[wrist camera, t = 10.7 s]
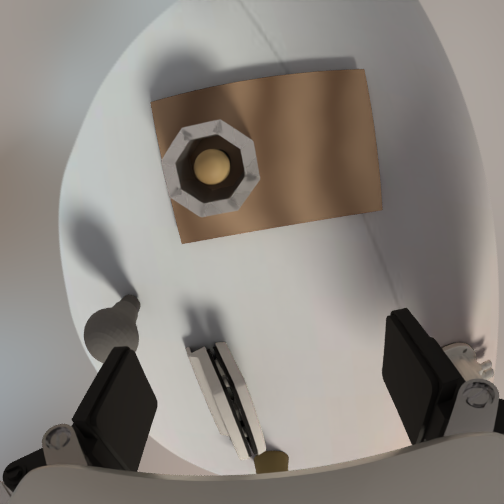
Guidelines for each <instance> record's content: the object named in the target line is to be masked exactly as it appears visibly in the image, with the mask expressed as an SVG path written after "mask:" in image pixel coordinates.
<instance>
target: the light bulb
mask: <svg viewBox="0 0 504 504" xmlns="http://www.w3.org/2000/svg"><path fill="white" fill-rule="evenodd" d="M139 309H140V302H139V300H138V299H137V298H136V297H135V296H133V295H126V296H124V297H123V298H122V299H121V301H119V302H117V303H116V304H115V305H114V306H113V307H112V308H106V309H101V310H99V311H97V312H96V313H94V314H93V315H91V317H90V318H89V319H88V321H87V323H86V325H85V329H84V341H85V344H86V347H87V349H88V351H89V352H90V354H91V355H92V356H93V357H94V358H95V359H97V360H98V361H100V362H102V363H104V362H105V360H106V359H107V357H108V355H109V354H110V352H111V350H112V349H113V348H114V347H120V346H128V347H129V348H130V349H131V350H134V351H135V352H136V350H137V347H138V342H139V334H138V330H137V326H136V320H137V317H138V312H139Z"/></svg>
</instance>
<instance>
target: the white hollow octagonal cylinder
mask: <svg viewBox="0 0 504 504" xmlns="http://www.w3.org/2000/svg"><path fill="white" fill-rule="evenodd" d="M218 135H220V136H221V137H223V138H224V139H226V140H227V141H229V142H230V143H232V144H233V145H235V146H236V147H238V148H239V149H241V155H242V160H243V165H244V171H243V173H242V174H241V176H240V177H239V179H238V180H237V181H236V183H235V184H234V186H229V187H224V188H219V189H214V190H212V189H210V188H209V187H207V186H206V185H204V184H203V183H201V182H200V181H198V180H196V179H195V178H194V175H193V170H192V165H191V161H190V156H191V154H192V153H193V151H194V150H195V148H196V147H197V145H198V144H199V142H200V141H201V139H204V138H208V137H213V136H218ZM161 162H162V167H163V171H164V176H165V180H166V185H167V189H168V193H169V197H170V198H172V199H173V200H175V201H176V202H178V203H179V204H181V205H182V206H184V207H185V208H187V209H189V210H190V211H192V212H193V213H195V214H196V215H198V216H199V217H206V216H211V215H217V214H222V213H227V212H233V211H238V210H239V209H240V207H241V206H242V204H243V203H244V201H245V200H246V199H247V197H248V196H249V194H250V193H251V192H252V190H253V189H254V187H255V186H256V185H257V183H258V182H259V180H260V175H259V169H258V164H257V158H256V152H255V147H254V142H253V140H251V139H250V138H248V137H247V136H245V135H244V134H242V133H241V132H239V131H238V130H236V129H235V128H233V127H232V126H230V125H229V124H227V123H226V122H224V121H222V120H221V119H220V120H215V121H210V122H205V123H201V124H196V125H192V126H188V127H183V128H181V130H180V131H179V133H178V134H177V136H176V138H175V139H174V141H173V142H172V144H171V145H170V147H169V149H168V150H167V152H166V153H165V155H164V157H163V158H162V160H161Z"/></svg>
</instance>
